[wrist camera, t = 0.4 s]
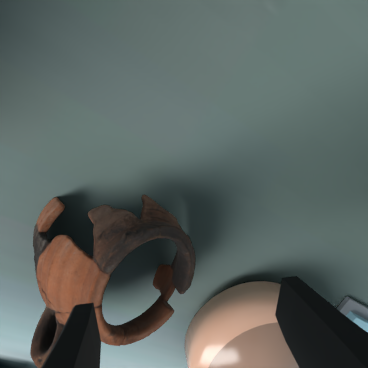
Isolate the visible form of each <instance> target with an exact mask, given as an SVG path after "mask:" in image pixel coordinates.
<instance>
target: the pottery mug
mask: <svg viewBox="0 0 368 368" xmlns="http://www.w3.org/2000/svg"><path fill="white" fill-rule="evenodd" d="M142 202H143V207H142V212H141V217H140V219H138V218H137V217H136V216H135V215H134V214H133V213H132V212H129V211H127V210H124V209H115V208H112V207H110V206H109V205H101V206H98V207H96V208H93V209H91V210H90V211H89V212H88V216H89V218H90V220H91V221H92V223H93V224H94V227H93V237H94V253H93V256H91V255H89V254H87V253H86V252H84V251H83V250H82V249H81V248H79V247H78V246H77V245H76V244H75V242H74V241H73V239H72V238H71V237H69V236H68V235H57V236H56V237H55V238H54V239H53V240H52V242H51V241H50V240H49V239H47V231H48V230H49V228H50V227H51V225H52V224H53V222H54V221H55V220H56V219H57V217H58V216H59V215H60V214H61V213H62V212H63V210H64V209H65V205H64V204H63V203H62V202H61V201H60V200H59V198H57V197H55V198H53V199H52V200H51V201H50V202H49V203H48V204H47V205H46V206H45V208H44V209H43V211H42V212H41V214H40V216H39V218H38V220H37V223H36V225H35V229H34V236H33V247H34V253H35V255H34V261H35V270H36V277H37V282H38V286H39V291H40V293H41V296H42V298H43V300H44V302H45V304H46V308H45V310H44V312H43V314H42V316H41V318H40V320H39V322H38V325H37V327H36V330H35V333H34V336H33V339H32V344H31V358H32V359H33V361H34V363H35V365H36V366H37V367H38V368H41V367H42V365H43V363H44V362H45V360H46V358H47V357H48V355H49V353H50V351H51V350H52V348H53V346H54V344H55V342H56V341H57V339H58V337H59V335H60V333H61V331H62V329H63V327H64V325H65V323H66V321H67V319H68V317H69V315H70V313H71V311H72V309H73V307H74V306H75V305H78V304H86V303H94V308H95V313H96V318H97V323H98V328H99V334H100V339H101V341H102V342H104V343H106V344H109V345H115V346H120V345H127V344H131V343H133V342H136V341H139V340H141V339H143V338H145V337H147V336H149V335H150V334H151V333H153V332H155V331H156V330H157V329H158V328H160V327H161V326H162V325H163V324H164V323H165V322H166V321H167V320H168V319H169V318H170V317H171V316H172V314H173V313H174V310H173V308H172V307H171V306H170V305H169V304H168V302H167V301H168V300H169V298H170V297H171V295H172V294H173V292H174V290H175V288H176V289H177V291H178V292H179V293H180V294H184V293H185V291H186V290H187V289H188V288H189V287H190V285H191V282H192V279H193V275H194V269H195V252H194V248H193V246H192V242H191V241H190V238H189V236H188V235H186V233H185V232H184V231H183V230H182V229H181V226H180V225H179V224H178V221H177V219H176V217H174V216H173V215H172V214H171V213H169V212H168V211H166V210H165V209H164V208H162V207H161V206H160V205H158V204H157V203H156V202H155V201H154V200H152V199H151V198H149V197H148V196H146V195H143V196H142ZM156 238H166V239H171V240H172V241H174V242H175V244H176V246H177V253H176V255H175V258H174V260H173V262H172V265H163V264H162V265H159V267H158V269H157V271H156V274H155V277H154V280H153V286H154V287H155V288H156V289H159V290H160V292H161V296H160V297H159V298H158V299H157V301H156V302H155V303H154V304H153V305H152V306H151V307H150V308H149V309H147V310H146V311H145V312H144V313H142V314H141V315H140V316H138V317H136V318H135V319H133V320H131V321H129V322H127V323H124V324H122V325H117V326H114V325H110V324H108V323H107V322H106V321H105V320H104V317H103V314H102V300H103V294H104V291H105V288H106V286H107V283H108V281H109V279H110V276H111V273H112V272H113V271H114V270H115V268H116V267H117V266H118V265H119V263H120V262H121V261H122V260H123V259H124V258H125V257H126V256H127V255H128V254H129V253H130V252H131V251H133V250H134V249H136V248H137V247H139V246H140V245H142V244H144V243H145V242H148V241H150V240H153V239H156Z"/></svg>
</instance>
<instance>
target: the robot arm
mask: <svg viewBox="0 0 368 368" xmlns="http://www.w3.org/2000/svg"><path fill="white" fill-rule="evenodd" d="M275 316H276V318H277V321H278V324H279V326H280V329H281V331H282V334H283V336H284V339H285V341H286V343H287V345H288V347H289V349H290V351H291V353H292V355H293V357H294V359H295V360H296V362H297V364H298V366H299V368H368V332H366V331H365V330H363V329H362V328H361V327H359V326H358V325H357V324H355V323H354V322H353V321H351V320H350V319H349V318H348V317H346V316H345V315H344V314H342V313H341V312H340V311H339V310H337V309H336V308H335V307H334V306H332V305H331V304H330V303H329V302H327V301H326V300H325V299H324V298H323V297H321V296H320V295H319V294H318V293H316V292H315V291H314V290H313V289H312V288H310V287H309V286H308V285H307V284H306V283H304V282H303V281H302V280H301V279H299V278H298V277H297V276H295V277H287V278H282V281H281V286H280V291H279V297H278V302H277V307H276V313H275ZM100 349H101V339H100V334H99V328H98V323H97V318H96V313H95V308H94V303H86V304H78V305H75V306H74V307H73V309H72V311H71V313H70V315H69V317H68V319H67V321H66V323H65V325H64V327H63V329H62V331H61V333H60V335H59V337H58V339H57V341H56V342H55V344H54V346H53V348H52V350H51V351H50V353H49V355H48V357H47V358H46V360H45V362H44V363H43V365H42V367H41V368H100Z"/></svg>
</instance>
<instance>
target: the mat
mask: <svg viewBox="0 0 368 368" xmlns="http://www.w3.org/2000/svg"><path fill="white" fill-rule="evenodd" d="M336 309H337V310H339V311H340V312H341V313H342V314H344V315H345V316H346V315H347V314H348V313H349V312H350V311H351V312H353V313H355V314H356V315H358V316H360V317H362V318H364V319H366V320H368V307H366V306H364V305H362V304H360V303H359V302H357V301H355V300H353V299H351V298H350V297H348V296H346V297H345V299H344V300H343V301H342V302H341V303H340V305H339V306H338V307H337V308H336Z"/></svg>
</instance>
